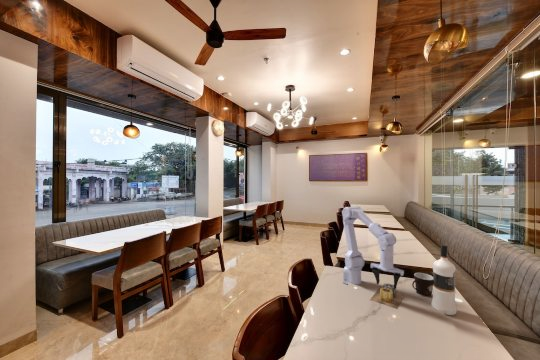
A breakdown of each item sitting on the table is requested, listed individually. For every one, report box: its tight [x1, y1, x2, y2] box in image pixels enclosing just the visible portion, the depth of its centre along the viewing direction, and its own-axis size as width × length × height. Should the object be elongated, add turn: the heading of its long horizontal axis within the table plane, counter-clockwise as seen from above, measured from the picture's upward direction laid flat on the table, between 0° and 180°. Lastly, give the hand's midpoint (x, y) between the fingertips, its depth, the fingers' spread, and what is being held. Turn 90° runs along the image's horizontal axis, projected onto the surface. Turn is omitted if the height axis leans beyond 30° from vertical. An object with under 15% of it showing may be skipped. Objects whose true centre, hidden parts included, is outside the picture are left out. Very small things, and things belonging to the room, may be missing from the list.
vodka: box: [430, 244, 458, 316], centre depth 106 cm, size 9×9×30 cm
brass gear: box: [380, 288, 393, 303], centre depth 113 cm, size 6×6×4 cm
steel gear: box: [382, 283, 397, 297], centre depth 118 cm, size 6×6×4 cm
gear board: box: [369, 286, 406, 310], centre depth 115 cm, size 12×18×6 cm, turn 140°
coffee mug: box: [411, 272, 433, 298], centre depth 119 cm, size 12×9×10 cm
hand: (386, 285), depth 113 cm, fingers open, 7 cm apart
